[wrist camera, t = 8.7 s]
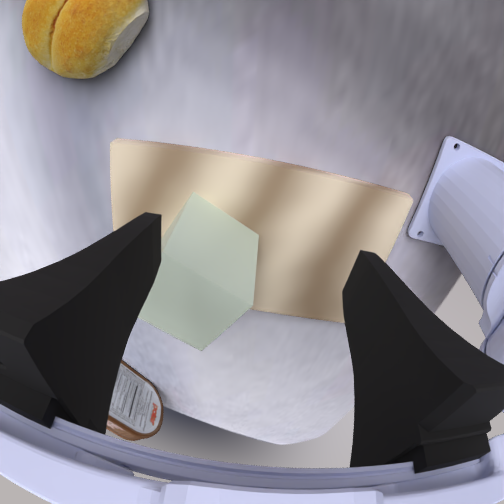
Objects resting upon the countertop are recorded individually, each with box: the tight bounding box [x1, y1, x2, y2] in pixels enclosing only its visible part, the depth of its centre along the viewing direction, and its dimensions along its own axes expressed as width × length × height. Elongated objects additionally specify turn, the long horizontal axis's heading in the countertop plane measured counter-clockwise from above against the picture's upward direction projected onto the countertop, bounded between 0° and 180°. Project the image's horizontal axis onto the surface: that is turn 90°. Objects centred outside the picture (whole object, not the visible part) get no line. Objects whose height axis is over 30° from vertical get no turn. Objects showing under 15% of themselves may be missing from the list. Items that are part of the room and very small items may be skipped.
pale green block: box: [138, 192, 259, 351], centre depth 19 cm, size 5×5×7 cm
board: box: [110, 138, 413, 323], centre depth 22 cm, size 20×12×1 cm, turn 80°
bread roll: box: [22, 0, 149, 79], centre depth 12 cm, size 8×9×4 cm
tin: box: [106, 360, 163, 441], centre depth 31 cm, size 15×3×8 cm, turn 33°
